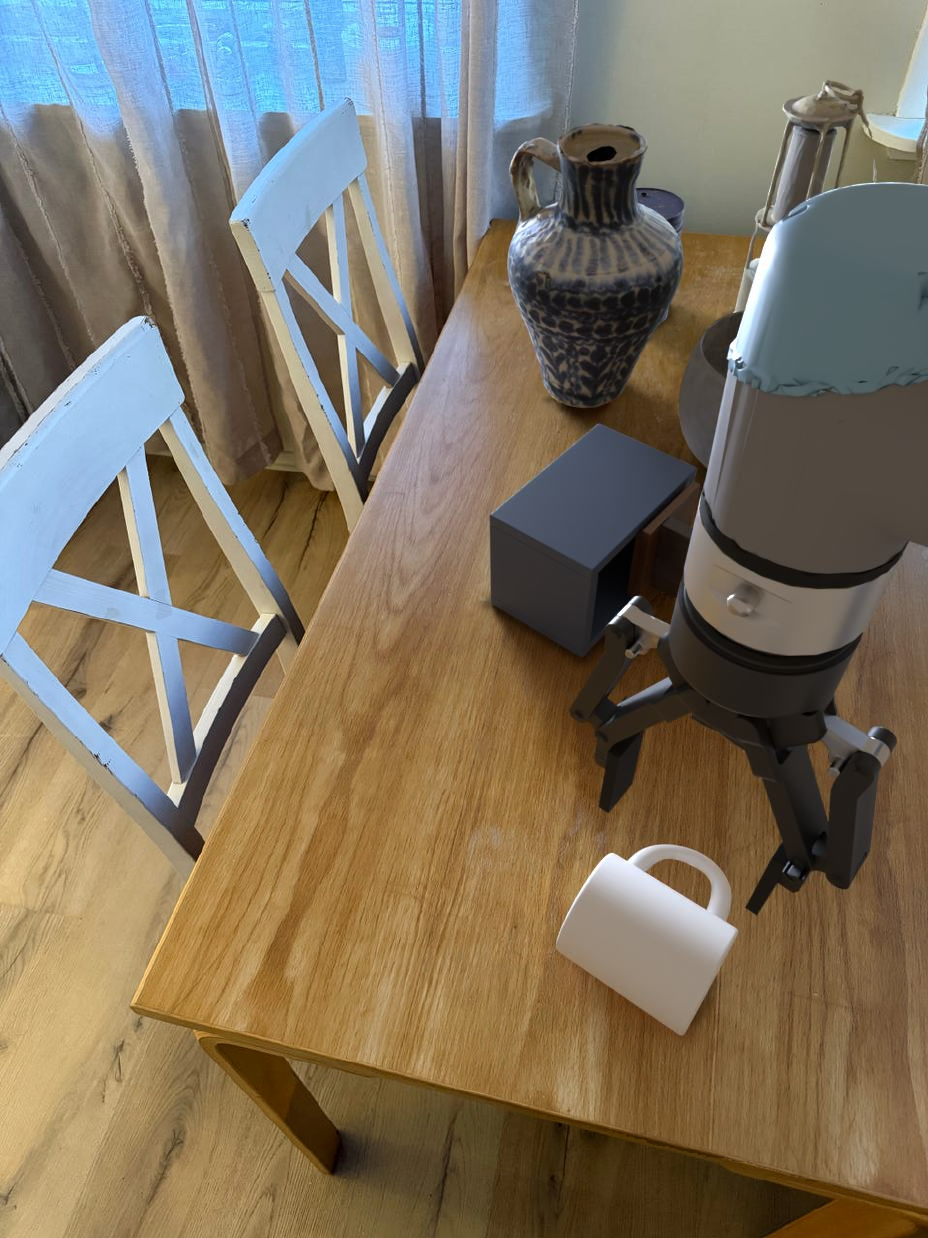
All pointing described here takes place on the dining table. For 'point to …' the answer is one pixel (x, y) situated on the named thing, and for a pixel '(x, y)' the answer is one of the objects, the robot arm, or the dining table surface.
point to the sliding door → (666, 547)
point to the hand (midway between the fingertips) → (685, 842)
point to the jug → (590, 262)
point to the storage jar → (663, 208)
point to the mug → (650, 933)
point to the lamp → (805, 159)
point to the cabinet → (580, 535)
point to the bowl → (706, 385)
